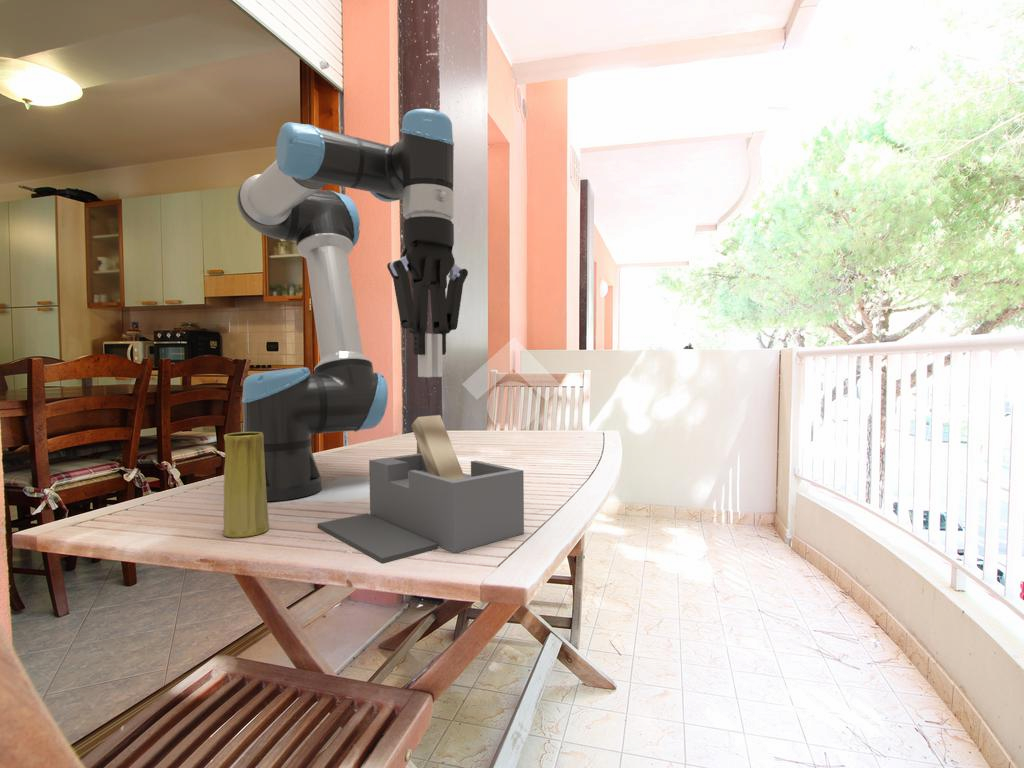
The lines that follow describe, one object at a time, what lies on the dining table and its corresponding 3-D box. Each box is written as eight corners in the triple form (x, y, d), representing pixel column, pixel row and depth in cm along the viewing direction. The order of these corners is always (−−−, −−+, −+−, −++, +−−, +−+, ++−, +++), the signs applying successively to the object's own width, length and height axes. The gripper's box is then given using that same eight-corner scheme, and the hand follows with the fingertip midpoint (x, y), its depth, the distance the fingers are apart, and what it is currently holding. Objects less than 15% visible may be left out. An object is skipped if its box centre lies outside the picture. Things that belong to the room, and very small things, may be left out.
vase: (257, 523, 85) (255, 430, 85) (277, 530, 81) (274, 433, 81) (215, 532, 81) (212, 434, 80) (234, 541, 77) (231, 437, 76)
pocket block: (370, 516, 88) (369, 460, 88) (434, 503, 96) (433, 451, 96) (454, 553, 71) (453, 483, 71) (523, 533, 79) (523, 470, 78)
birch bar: (411, 425, 86) (418, 416, 84) (433, 423, 88) (440, 415, 87) (451, 535, 78) (459, 528, 77) (473, 529, 81) (482, 522, 79)
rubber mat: (317, 527, 83) (317, 523, 83) (367, 517, 88) (367, 513, 88) (382, 563, 68) (382, 558, 68) (437, 548, 73) (437, 543, 73)
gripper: (399, 206, 76) (401, 378, 77) (481, 223, 86) (482, 376, 87) (373, 217, 82) (375, 377, 83) (453, 231, 91) (454, 375, 92)
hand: (430, 376), depth 85 cm, fingers closed
